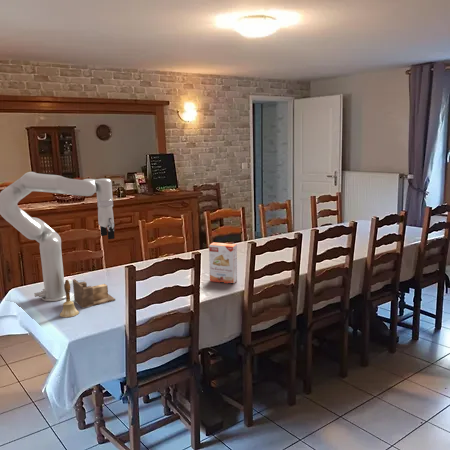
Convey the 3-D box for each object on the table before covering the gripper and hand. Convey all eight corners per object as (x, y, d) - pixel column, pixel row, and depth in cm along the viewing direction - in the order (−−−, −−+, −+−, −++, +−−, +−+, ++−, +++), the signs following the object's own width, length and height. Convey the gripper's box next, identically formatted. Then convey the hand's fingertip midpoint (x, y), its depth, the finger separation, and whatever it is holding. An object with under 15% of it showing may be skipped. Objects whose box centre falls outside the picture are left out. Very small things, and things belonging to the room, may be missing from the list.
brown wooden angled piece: (82, 308, 211) (80, 286, 209) (74, 300, 220) (72, 279, 218) (115, 300, 220) (113, 279, 218) (106, 293, 230) (104, 273, 227)
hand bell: (62, 311, 208) (59, 277, 205) (80, 310, 209) (78, 277, 205) (57, 318, 200) (54, 283, 197) (76, 317, 201) (73, 282, 197)
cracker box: (209, 281, 246) (208, 244, 241) (213, 278, 251) (213, 241, 247) (233, 284, 240) (233, 246, 236) (237, 281, 246) (237, 243, 242)
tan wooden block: (83, 302, 215) (82, 289, 214) (81, 300, 218) (80, 287, 217) (108, 297, 222) (107, 284, 221) (105, 295, 225) (104, 282, 224)
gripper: (91, 202, 230) (94, 235, 233) (104, 206, 216) (106, 241, 219) (106, 201, 234) (108, 233, 238) (119, 204, 220) (121, 239, 224)
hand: (107, 237), depth 228 cm, fingers open, 9 cm apart
